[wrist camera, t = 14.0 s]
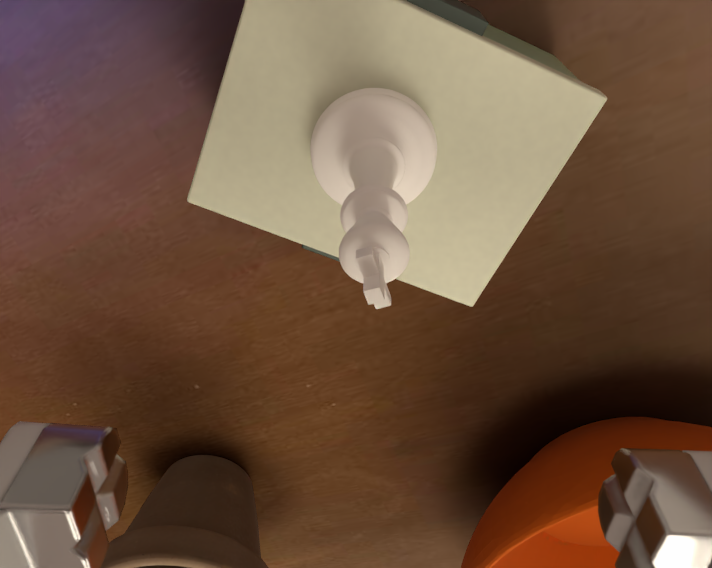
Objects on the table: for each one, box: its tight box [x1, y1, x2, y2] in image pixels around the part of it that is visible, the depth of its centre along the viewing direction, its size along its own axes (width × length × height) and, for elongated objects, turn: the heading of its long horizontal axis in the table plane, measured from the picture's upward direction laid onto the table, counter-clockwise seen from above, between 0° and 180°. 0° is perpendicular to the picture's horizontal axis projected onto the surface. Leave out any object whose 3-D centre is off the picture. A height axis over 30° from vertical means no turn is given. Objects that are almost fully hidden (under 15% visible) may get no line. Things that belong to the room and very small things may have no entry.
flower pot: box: [101, 455, 268, 568], centre depth 42 cm, size 12×11×10 cm
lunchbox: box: [187, 0, 607, 307], centre depth 27 cm, size 13×11×7 cm
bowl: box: [461, 417, 712, 568], centre depth 41 cm, size 25×25×10 cm
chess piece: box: [310, 88, 437, 309], centre depth 20 cm, size 5×5×10 cm
